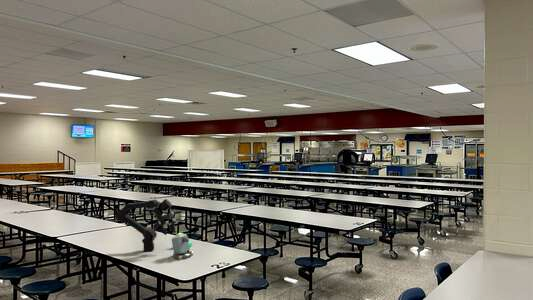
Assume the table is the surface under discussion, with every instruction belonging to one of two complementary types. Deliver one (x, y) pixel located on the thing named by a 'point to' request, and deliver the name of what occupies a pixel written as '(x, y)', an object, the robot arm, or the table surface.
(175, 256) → the tribrach base
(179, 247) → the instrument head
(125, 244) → the table surface
